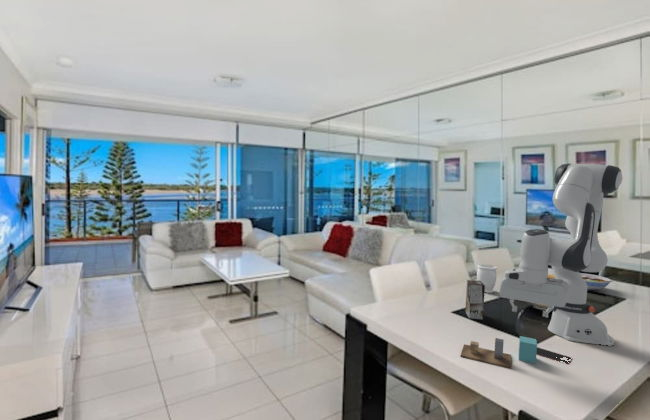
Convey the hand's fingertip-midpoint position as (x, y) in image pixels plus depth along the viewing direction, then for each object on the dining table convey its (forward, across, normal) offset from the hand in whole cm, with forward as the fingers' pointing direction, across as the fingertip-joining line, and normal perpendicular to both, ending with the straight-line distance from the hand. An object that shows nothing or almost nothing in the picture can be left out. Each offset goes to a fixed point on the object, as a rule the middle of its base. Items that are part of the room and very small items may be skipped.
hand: (529, 314), depth 124 cm
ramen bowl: (+15, -36, -126) cm, 132 cm away
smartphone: (+17, -7, -8) cm, 20 cm away
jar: (+16, +19, -84) cm, 88 cm away
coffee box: (+17, +21, -36) cm, 45 cm away
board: (+17, +13, +6) cm, 22 cm away
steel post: (+17, +9, +6) cm, 20 cm away
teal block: (+16, 0, 0) cm, 16 cm away
